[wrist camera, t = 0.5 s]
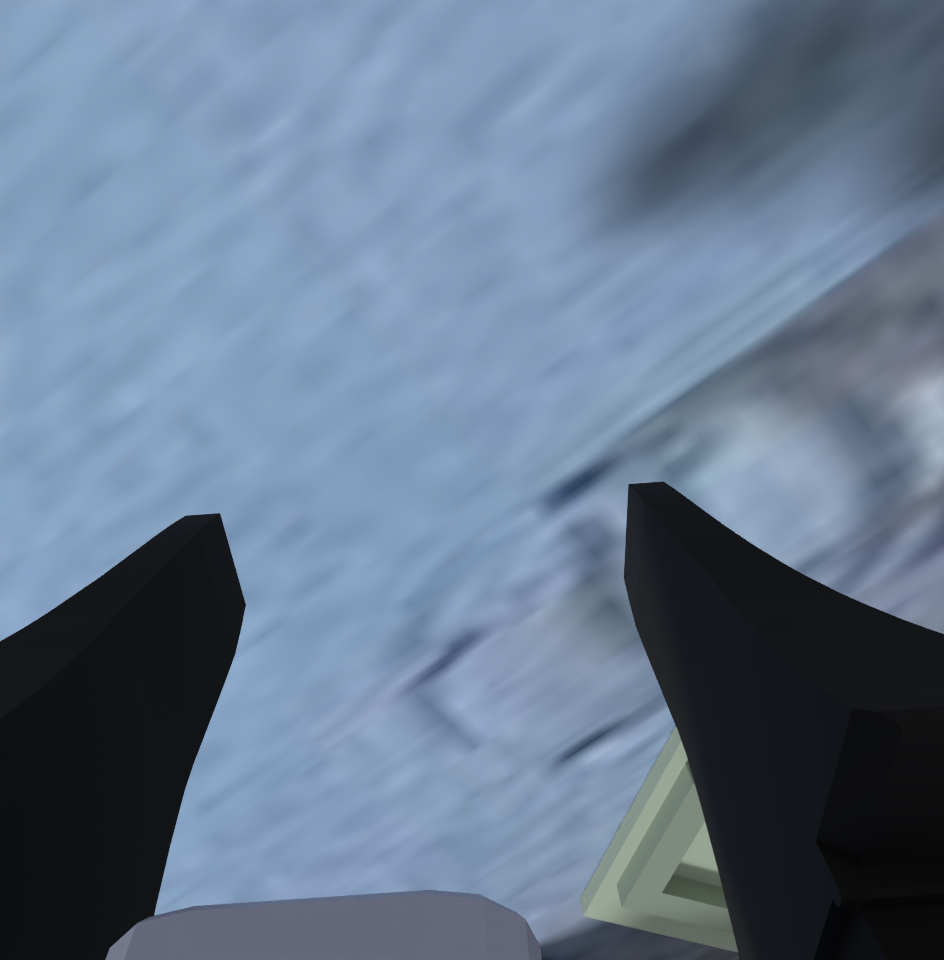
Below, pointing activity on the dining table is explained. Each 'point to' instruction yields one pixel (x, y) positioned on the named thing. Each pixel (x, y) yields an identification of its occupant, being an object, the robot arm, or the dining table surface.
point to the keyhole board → (663, 862)
